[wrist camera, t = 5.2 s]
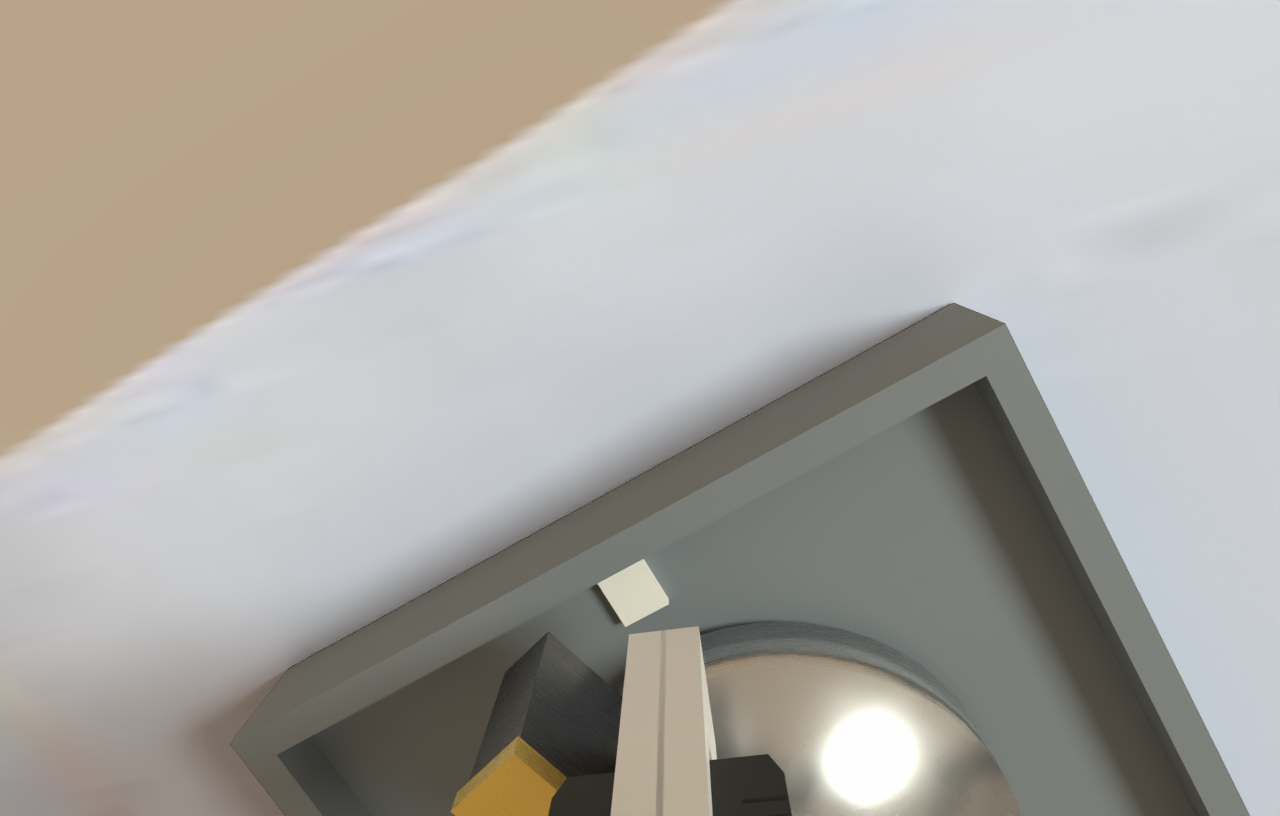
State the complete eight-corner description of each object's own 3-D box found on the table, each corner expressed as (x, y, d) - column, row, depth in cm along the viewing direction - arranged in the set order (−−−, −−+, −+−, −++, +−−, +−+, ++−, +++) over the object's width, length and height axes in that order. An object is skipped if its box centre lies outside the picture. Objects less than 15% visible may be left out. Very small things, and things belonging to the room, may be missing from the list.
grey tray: (1234, 855, 25) (1320, 957, 22) (622, 1118, 28) (616, 1243, 25) (953, 302, 22) (1005, 323, 18) (288, 668, 25) (229, 743, 21)
